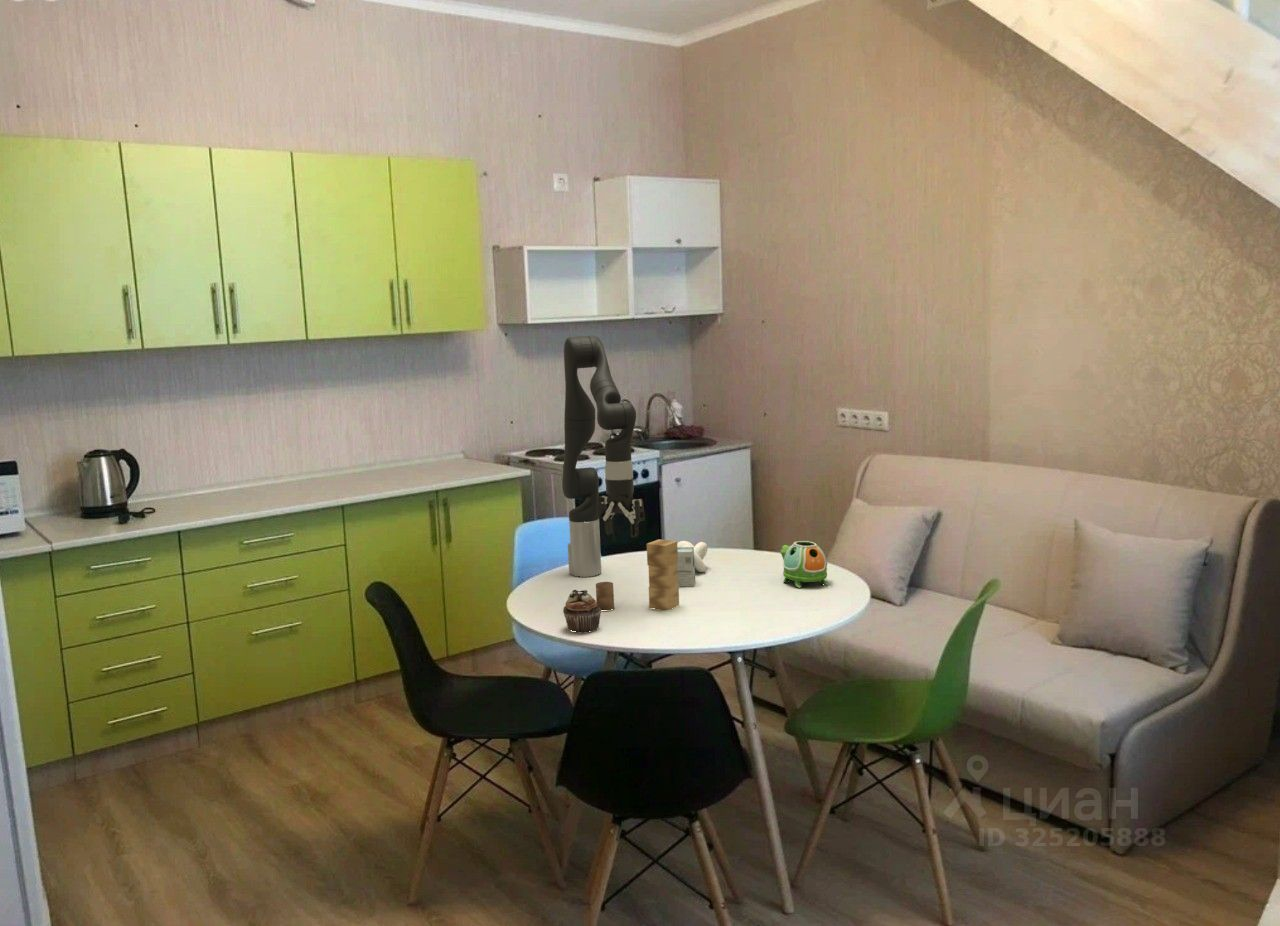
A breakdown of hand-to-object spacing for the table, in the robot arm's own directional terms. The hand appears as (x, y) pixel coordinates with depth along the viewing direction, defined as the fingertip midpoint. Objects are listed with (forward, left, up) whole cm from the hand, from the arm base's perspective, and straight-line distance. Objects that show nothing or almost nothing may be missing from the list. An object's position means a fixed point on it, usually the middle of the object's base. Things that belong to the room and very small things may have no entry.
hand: (621, 535), depth 281 cm
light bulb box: (+3, +25, -20) cm, 32 cm away
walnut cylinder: (-3, -5, -20) cm, 21 cm away
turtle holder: (+36, +41, -20) cm, 58 cm away
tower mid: (+11, +3, -14) cm, 18 cm away
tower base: (+11, +3, -20) cm, 23 cm away
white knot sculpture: (-1, +40, -20) cm, 45 cm away
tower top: (+11, +3, -8) cm, 14 cm away
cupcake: (+1, -22, -20) cm, 30 cm away
